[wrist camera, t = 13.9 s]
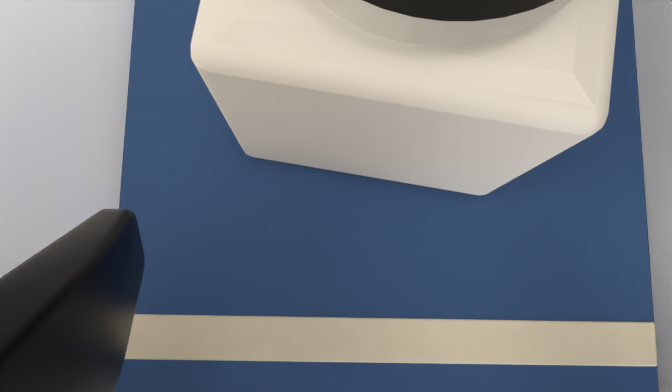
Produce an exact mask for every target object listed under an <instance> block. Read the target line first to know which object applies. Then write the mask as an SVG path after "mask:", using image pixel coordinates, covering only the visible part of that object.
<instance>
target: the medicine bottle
mask: <svg viewBox="0 0 672 392" xmlns="http://www.w3.org/2000/svg"><path fill="white" fill-rule="evenodd" d="M618 7H619V0H200V5H199V9H198V14H197V18H196V23H195V27H194V32H193V36H192V41H191V47H190V48H191V59H192V61H193V62H194V64H195V66H196V68H197V69H198V71H199V73H200V75H201V77H202V78H203V80H204V82H205V84H206V85H207V87H208V89H209V91H210V92H211V94H212V96H213V98H214V100H215V101H216V103H217V105H218V107H219V108H220V110H221V112H222V114H223V115H224V117H225V119H226V121H227V123H228V124H229V126H230V128H231V130H232V131H233V133H234V135H235V137H236V138H237V140H238V142H239V144H240V145H241V147H242V149H243V150H244V152H245V153H246V154H247V155H249V156H251V157H256V158H262V159H267V160H273V161H279V162H285V163H291V164H297V165H303V166H309V167H314V168H320V169H326V170H332V171H338V172H344V173H350V174H356V175H361V176H367V177H373V178H379V179H385V180H391V181H397V182H403V183H408V184H414V185H420V186H426V187H432V188H438V189H444V190H450V191H455V192H461V193H467V194H473V195H486V194H488V193H490V192H491V191H493V190H495V189H497V188H498V187H500V186H502V185H504V184H506V183H507V182H509V181H511V180H513V179H515V178H516V177H518V176H520V175H522V174H523V173H525V172H527V171H529V170H531V169H532V168H534V167H536V166H538V165H539V164H541V163H543V162H545V161H547V160H548V159H550V158H552V157H554V156H556V155H557V154H559V153H561V152H563V151H564V150H566V149H568V148H570V147H572V146H573V145H575V144H577V143H579V142H581V141H582V140H584V139H586V138H588V137H589V136H591V135H593V134H594V133H596V132H597V131H599V130H600V129H601V128H602V127H603V125H604V124H605V121H606V119H607V116H608V112H609V102H610V91H611V80H612V70H613V59H614V49H615V38H616V28H617V17H618Z"/></svg>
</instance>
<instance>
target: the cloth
mask: <svg viewBox="0 0 672 392" xmlns="http://www.w3.org/2000/svg"><path fill="white" fill-rule="evenodd" d="M199 5H200V0H135V7H134V20H133V33H132V46H131V60H130V73H129V86H128V99H127V112H126V125H125V138H124V151H123V164H122V178H121V191H120V204H119V209H129V210H131V211H132V212H134V214H135V216H136V218H137V222H138V227H139V232H140V236H141V241H142V245H143V250H144V256H145V265H144V272H143V277H142V281H141V286H140V291H139V295H138V300H137V304H136V309H135V314H134V318H133V323H132V328H131V332H130V337H129V341H128V346H127V350H126V354H125V359H124V363H123V366H122V369H121V373H120V376H119V379H118V382H117V385H116V388H115V391H114V392H659V390H658V375H657V365H658V364H657V350H656V335H655V324H654V317H653V302H652V288H651V273H650V258H649V244H648V229H647V215H646V200H645V186H644V171H643V157H642V142H641V127H640V113H639V98H638V84H637V69H636V55H635V40H634V25H633V11H632V0H619V7H618V17H617V28H616V38H615V49H614V59H613V70H612V80H611V91H610V102H609V112H608V116H607V119H606V121H605V124H604V125H603V127H602V128H601V129H600V130H599V131H597V132H596V133H594V134H593V135H591V136H589V137H588V138H586V139H584V140H582V141H581V142H579V143H577V144H575V145H573V146H572V147H570V148H568V149H566V150H564V151H563V152H561V153H559V154H557V155H556V156H554V157H552V158H550V159H548V160H547V161H545V162H543V163H541V164H539V165H538V166H536V167H534V168H532V169H531V170H529V171H527V172H525V173H523V174H522V175H520V176H518V177H516V178H515V179H513V180H511V181H509V182H507V183H506V184H504V185H502V186H500V187H498V188H497V189H495V190H493V191H491V192H490V193H488V194H486V195H473V194H467V193H461V192H455V191H450V190H444V189H438V188H432V187H426V186H420V185H414V184H408V183H403V182H397V181H391V180H385V179H379V178H373V177H367V176H361V175H356V174H350V173H344V172H338V171H332V170H326V169H320V168H314V167H309V166H303V165H297V164H291V163H285V162H279V161H273V160H267V159H262V158H256V157H251V156H249V155H247V154H246V153H245V152H244V150H243V149H242V147H241V145H240V144H239V142H238V140H237V138H236V137H235V135H234V133H233V131H232V130H231V128H230V126H229V124H228V123H227V121H226V119H225V117H224V115H223V114H222V112H221V110H220V108H219V107H218V105H217V103H216V101H215V100H214V98H213V96H212V94H211V92H210V91H209V89H208V87H207V85H206V84H205V82H204V80H203V78H202V77H201V75H200V73H199V71H198V69H197V68H196V66H195V64H194V62H193V61H192V59H191V48H190V47H191V41H192V36H193V32H194V27H195V23H196V18H197V14H198V9H199Z"/></svg>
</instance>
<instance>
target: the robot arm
mask: <svg viewBox="0 0 672 392" xmlns="http://www.w3.org/2000/svg"><path fill="white" fill-rule="evenodd" d="M144 265H145V256H144V250H143V245H142V241H141V236H140V232H139V227H138V222H137V218H136V216H135V214H134V212H132V211H131V210H129V209H103V210H101V211H99V212H97V213H96V214H94V215H93V216H92V217H90V218H89V219H87V220H86V221H84V222H83V223H81V224H80V225H78V226H77V227H75V228H74V229H72V230H71V231H69V232H68V233H66V234H65V235H63V236H62V237H60V238H59V239H57V240H56V241H54V242H53V243H52V244H50V245H49V246H47V247H46V248H44V249H43V250H41V251H40V252H38V253H37V254H35V255H34V256H32V257H31V258H29V259H28V260H26V261H25V262H23V263H22V264H20V265H19V266H17V267H16V268H14V269H13V270H12V271H10V272H9V273H7V274H6V275H4V276H3V277H1V278H0V392H114V391H115V388H116V385H117V382H118V379H119V376H120V373H121V369H122V366H123V363H124V359H125V354H126V350H127V346H128V341H129V337H130V332H131V328H132V323H133V318H134V314H135V309H136V304H137V300H138V295H139V291H140V286H141V281H142V277H143V272H144Z"/></svg>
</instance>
